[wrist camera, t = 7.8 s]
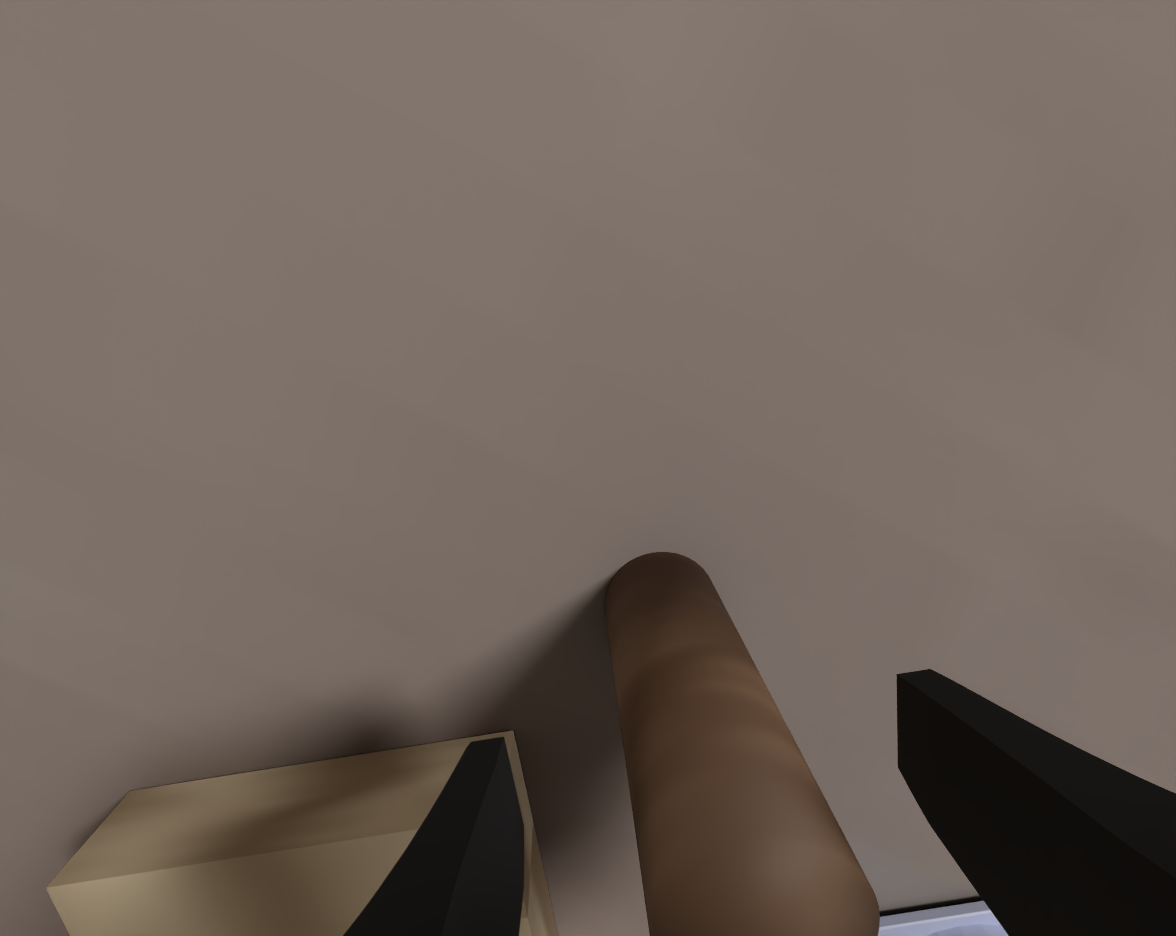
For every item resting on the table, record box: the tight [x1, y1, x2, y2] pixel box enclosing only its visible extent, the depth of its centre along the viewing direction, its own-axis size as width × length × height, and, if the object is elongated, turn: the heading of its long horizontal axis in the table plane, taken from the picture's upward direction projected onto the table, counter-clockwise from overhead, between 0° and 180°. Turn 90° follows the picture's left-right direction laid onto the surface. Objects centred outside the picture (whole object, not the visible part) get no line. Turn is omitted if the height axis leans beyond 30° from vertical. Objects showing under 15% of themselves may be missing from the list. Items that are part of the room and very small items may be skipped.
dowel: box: [604, 552, 880, 936], centre depth 12 cm, size 3×3×9 cm
